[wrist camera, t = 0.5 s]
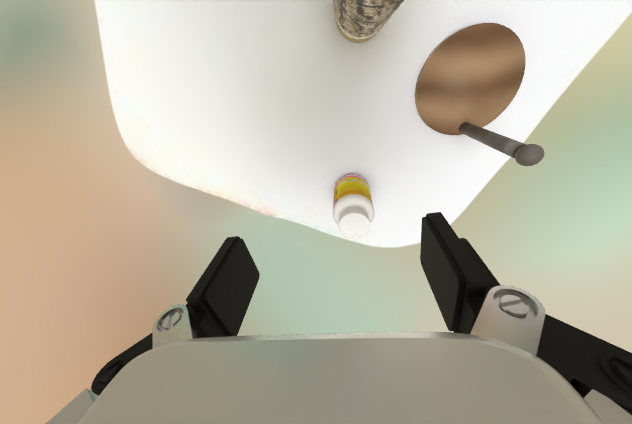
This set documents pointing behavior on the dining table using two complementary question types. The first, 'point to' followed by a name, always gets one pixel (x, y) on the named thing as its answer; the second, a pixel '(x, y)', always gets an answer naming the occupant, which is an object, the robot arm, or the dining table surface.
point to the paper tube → (363, 17)
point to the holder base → (475, 87)
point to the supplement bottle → (353, 206)
